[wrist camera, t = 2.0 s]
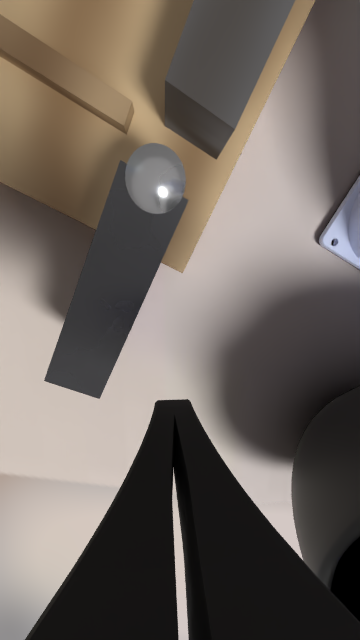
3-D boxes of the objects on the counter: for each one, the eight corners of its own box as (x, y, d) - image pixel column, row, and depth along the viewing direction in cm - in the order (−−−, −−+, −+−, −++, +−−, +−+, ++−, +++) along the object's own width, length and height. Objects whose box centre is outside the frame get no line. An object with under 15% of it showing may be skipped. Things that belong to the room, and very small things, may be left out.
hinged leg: (140, 159, 11) (131, 124, 8) (192, 189, 11) (202, 169, 8) (69, 352, 14) (43, 381, 11) (112, 368, 14) (98, 400, 11)
